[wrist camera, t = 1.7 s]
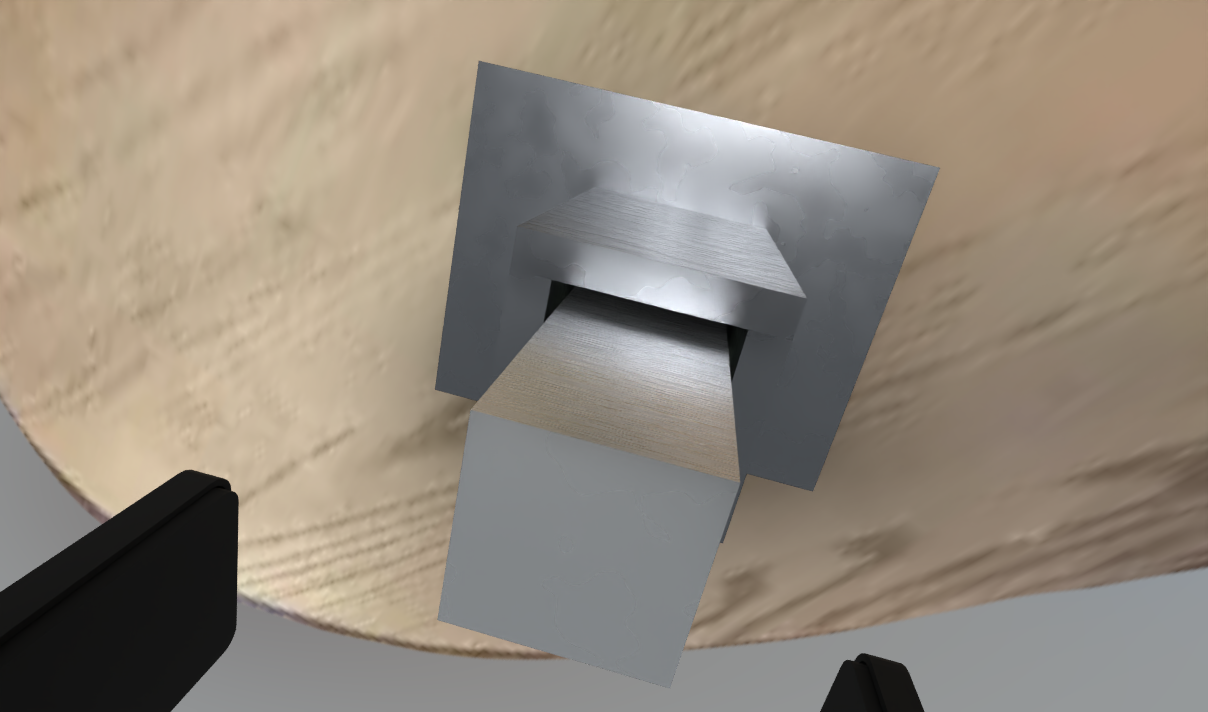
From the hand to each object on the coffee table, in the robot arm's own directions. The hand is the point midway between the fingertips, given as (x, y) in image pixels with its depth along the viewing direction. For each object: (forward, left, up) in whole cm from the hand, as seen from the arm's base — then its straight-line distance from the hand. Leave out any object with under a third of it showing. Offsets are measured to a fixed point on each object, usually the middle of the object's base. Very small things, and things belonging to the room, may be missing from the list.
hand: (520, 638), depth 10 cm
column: (0, 0, -21) cm, 22 cm away
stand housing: (0, 0, -24) cm, 24 cm away
